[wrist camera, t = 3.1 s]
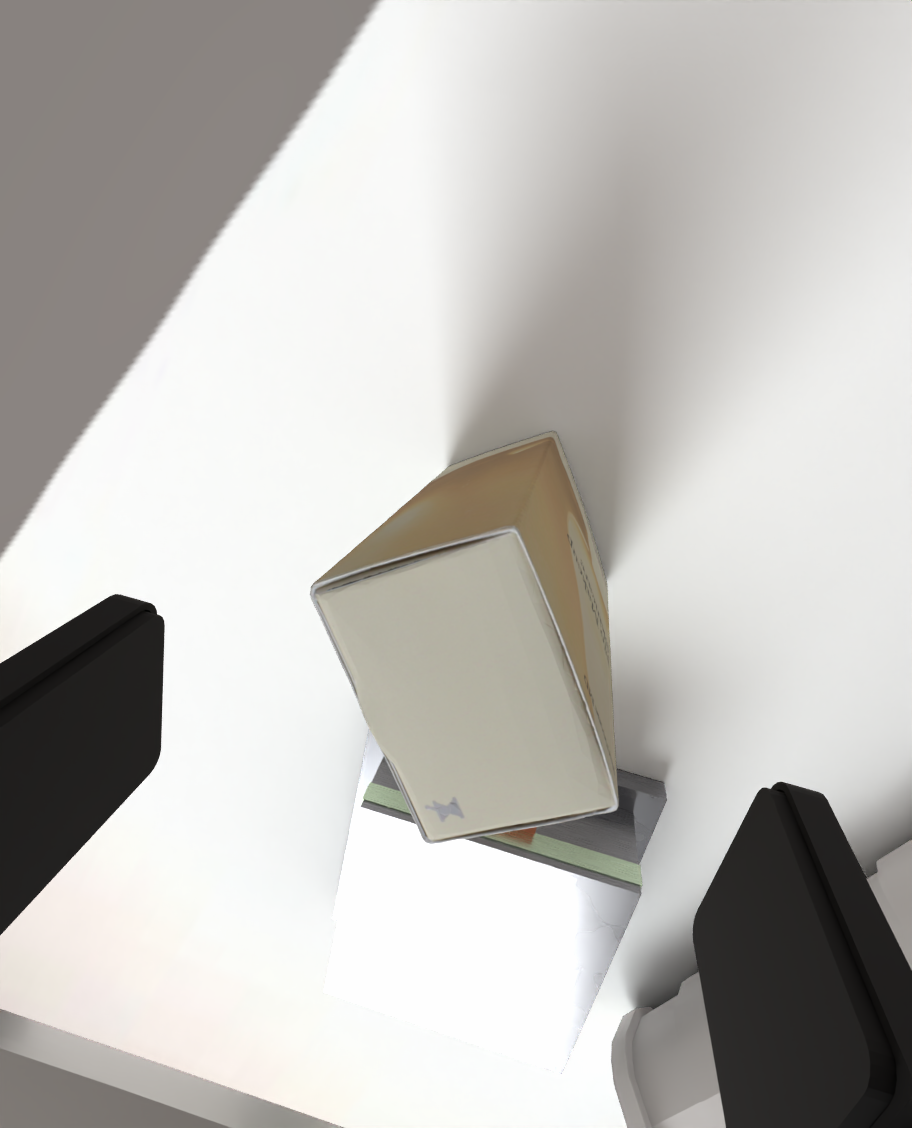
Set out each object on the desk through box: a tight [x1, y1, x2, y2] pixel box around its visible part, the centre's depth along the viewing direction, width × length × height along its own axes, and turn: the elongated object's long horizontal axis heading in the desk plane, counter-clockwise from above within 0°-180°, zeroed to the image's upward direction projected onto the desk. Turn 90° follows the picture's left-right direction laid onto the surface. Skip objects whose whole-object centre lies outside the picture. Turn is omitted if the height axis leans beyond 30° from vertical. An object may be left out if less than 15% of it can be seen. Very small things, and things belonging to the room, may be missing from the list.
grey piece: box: [324, 729, 667, 1074], centre depth 27 cm, size 12×12×5 cm
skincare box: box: [310, 431, 619, 844], centre depth 18 cm, size 6×4×12 cm
